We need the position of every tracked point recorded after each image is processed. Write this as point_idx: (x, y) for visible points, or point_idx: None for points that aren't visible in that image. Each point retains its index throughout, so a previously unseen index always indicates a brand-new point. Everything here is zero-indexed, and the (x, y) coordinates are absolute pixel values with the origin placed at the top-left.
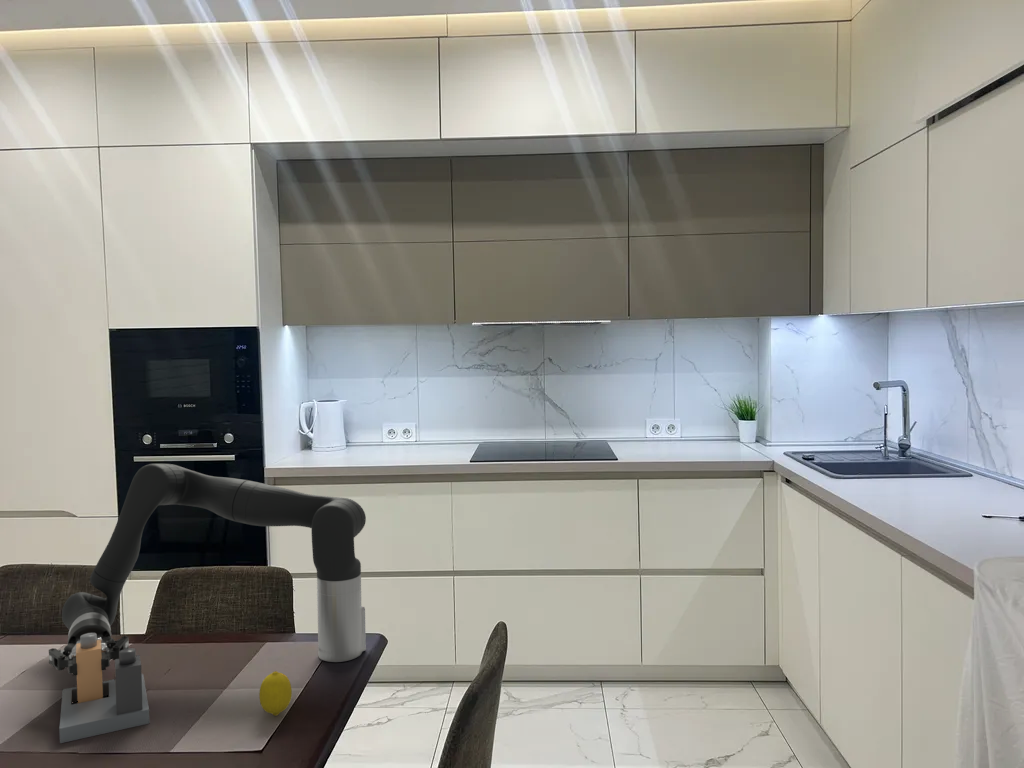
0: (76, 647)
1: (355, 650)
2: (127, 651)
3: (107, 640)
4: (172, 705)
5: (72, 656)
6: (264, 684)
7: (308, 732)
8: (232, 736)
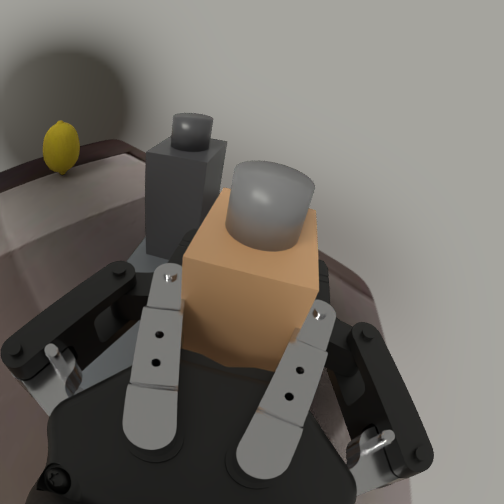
0: (316, 248)
1: None
2: (194, 116)
3: (93, 399)
4: (96, 261)
5: (319, 301)
6: (74, 130)
7: (81, 151)
8: (120, 171)
